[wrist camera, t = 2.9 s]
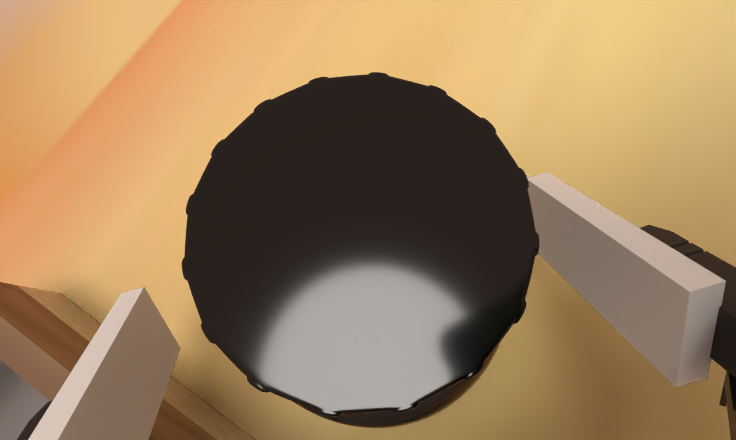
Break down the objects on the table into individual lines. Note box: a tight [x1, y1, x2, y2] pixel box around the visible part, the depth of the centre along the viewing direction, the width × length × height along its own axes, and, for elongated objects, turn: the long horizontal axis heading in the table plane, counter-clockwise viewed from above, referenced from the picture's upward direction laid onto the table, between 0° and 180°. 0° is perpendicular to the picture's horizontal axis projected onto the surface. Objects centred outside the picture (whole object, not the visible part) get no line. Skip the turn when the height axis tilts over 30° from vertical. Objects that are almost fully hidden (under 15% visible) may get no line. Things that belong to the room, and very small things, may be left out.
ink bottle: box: [182, 72, 540, 428], centre depth 14 cm, size 10×9×12 cm
